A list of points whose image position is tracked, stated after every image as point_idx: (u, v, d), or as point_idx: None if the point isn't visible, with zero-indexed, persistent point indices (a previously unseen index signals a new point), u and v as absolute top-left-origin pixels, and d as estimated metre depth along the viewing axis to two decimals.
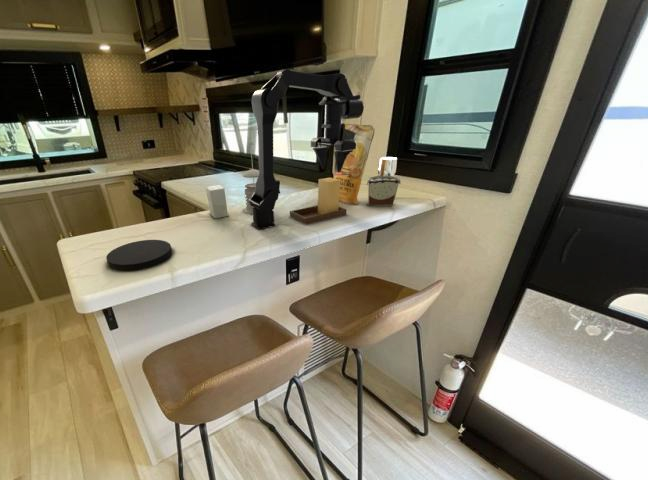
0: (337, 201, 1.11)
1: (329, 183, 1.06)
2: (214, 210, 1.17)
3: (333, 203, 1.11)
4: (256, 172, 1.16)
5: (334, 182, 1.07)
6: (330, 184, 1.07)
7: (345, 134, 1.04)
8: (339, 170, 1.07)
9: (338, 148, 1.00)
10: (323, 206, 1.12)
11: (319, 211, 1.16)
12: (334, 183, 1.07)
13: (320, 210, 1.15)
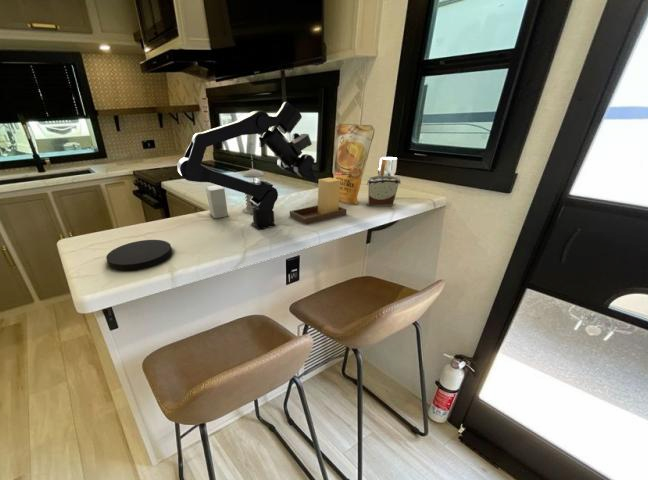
0: (337, 201, 1.11)
1: (329, 183, 1.06)
2: (214, 210, 1.17)
3: (333, 203, 1.11)
4: (256, 172, 1.16)
5: (334, 182, 1.07)
6: (330, 184, 1.07)
7: (298, 148, 0.97)
8: (315, 180, 1.02)
9: (298, 174, 0.97)
10: (323, 206, 1.12)
11: (319, 211, 1.16)
12: (334, 183, 1.07)
13: (320, 210, 1.15)
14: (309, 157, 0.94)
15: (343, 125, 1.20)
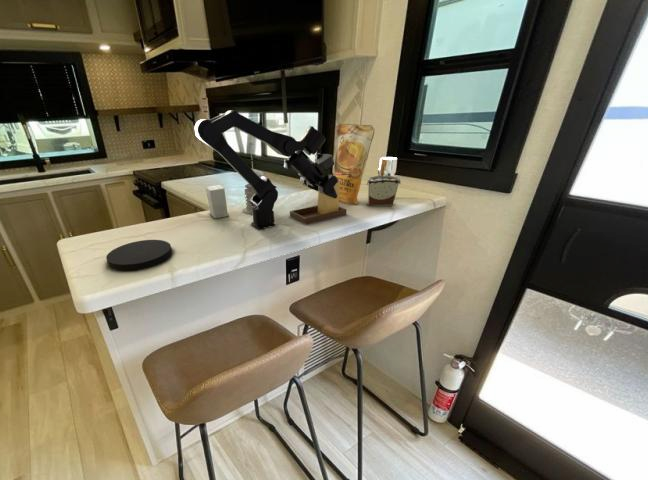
0: (337, 201, 1.11)
1: None
2: (214, 210, 1.17)
3: (333, 203, 1.11)
4: (256, 172, 1.16)
5: None
6: None
7: (322, 168, 1.03)
8: (335, 196, 1.09)
9: (323, 193, 1.03)
10: (323, 206, 1.12)
11: (319, 211, 1.16)
12: None
13: (321, 210, 1.15)
14: (333, 177, 1.00)
15: (343, 125, 1.20)
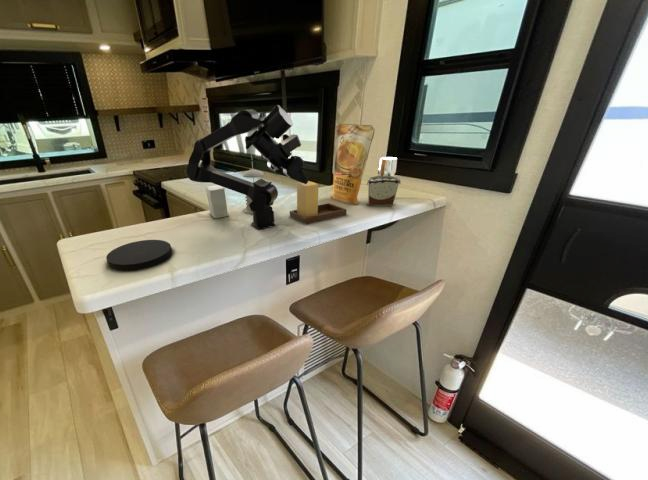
0: (316, 206, 1.08)
1: (306, 187, 1.03)
2: (214, 210, 1.17)
3: (312, 207, 1.08)
4: (256, 172, 1.16)
5: (312, 186, 1.04)
6: (308, 188, 1.03)
7: (287, 149, 0.95)
8: (305, 182, 1.00)
9: (288, 176, 0.95)
10: (302, 210, 1.09)
11: None
12: (312, 187, 1.04)
13: (300, 214, 1.11)
14: (298, 159, 0.91)
15: (343, 125, 1.20)
